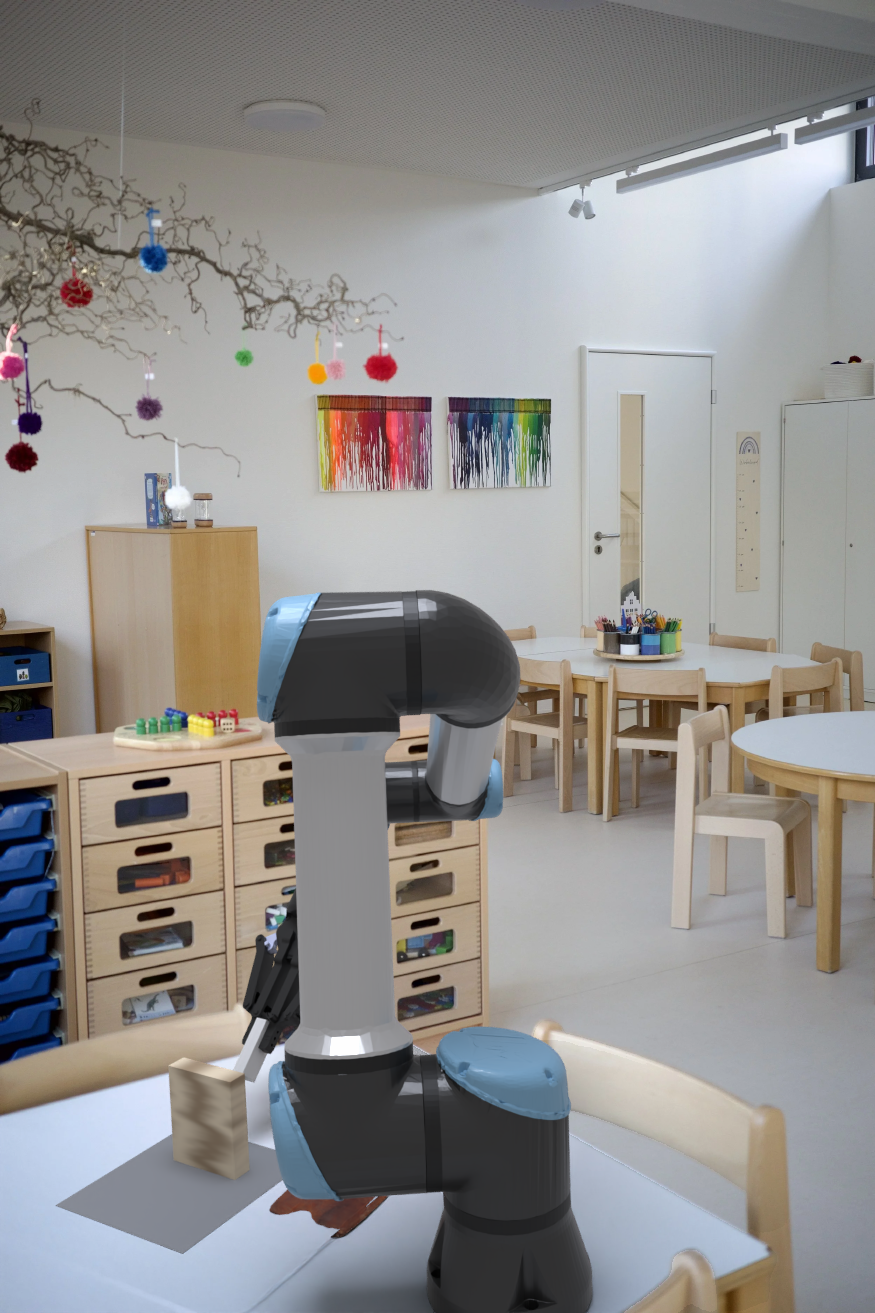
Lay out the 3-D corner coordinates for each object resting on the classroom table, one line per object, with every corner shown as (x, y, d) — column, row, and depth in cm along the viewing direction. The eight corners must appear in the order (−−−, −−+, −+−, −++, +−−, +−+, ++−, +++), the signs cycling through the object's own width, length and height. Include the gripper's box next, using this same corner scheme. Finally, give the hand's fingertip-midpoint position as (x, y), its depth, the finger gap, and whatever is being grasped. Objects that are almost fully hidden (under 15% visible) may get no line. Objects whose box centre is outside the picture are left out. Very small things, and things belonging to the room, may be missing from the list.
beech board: (250, 1169, 131) (245, 1073, 130) (235, 1180, 129) (229, 1082, 128) (189, 1150, 136) (183, 1057, 135) (173, 1160, 134) (168, 1065, 133)
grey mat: (309, 1165, 133) (309, 1160, 133) (183, 1259, 116) (182, 1253, 116) (188, 1128, 142) (188, 1123, 142) (55, 1211, 125) (55, 1205, 125)
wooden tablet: (344, 1248, 118) (344, 1232, 118) (261, 1224, 123) (260, 1208, 123) (462, 1126, 142) (461, 1113, 142) (388, 1110, 146) (387, 1097, 146)
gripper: (381, 917, 149) (303, 1101, 136) (298, 904, 155) (217, 1078, 143) (354, 887, 144) (271, 1075, 131) (270, 874, 150) (183, 1052, 138)
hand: (243, 1076), depth 137 cm, fingers closed
